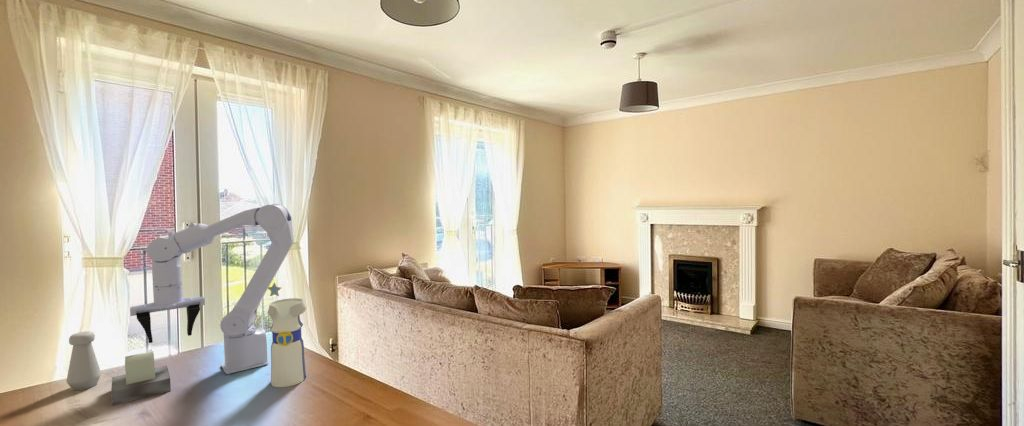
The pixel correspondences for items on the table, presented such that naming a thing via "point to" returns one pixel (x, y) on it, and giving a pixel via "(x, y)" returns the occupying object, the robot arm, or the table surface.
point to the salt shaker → (83, 362)
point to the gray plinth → (140, 386)
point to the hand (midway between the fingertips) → (170, 338)
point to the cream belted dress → (286, 340)
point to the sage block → (139, 367)
